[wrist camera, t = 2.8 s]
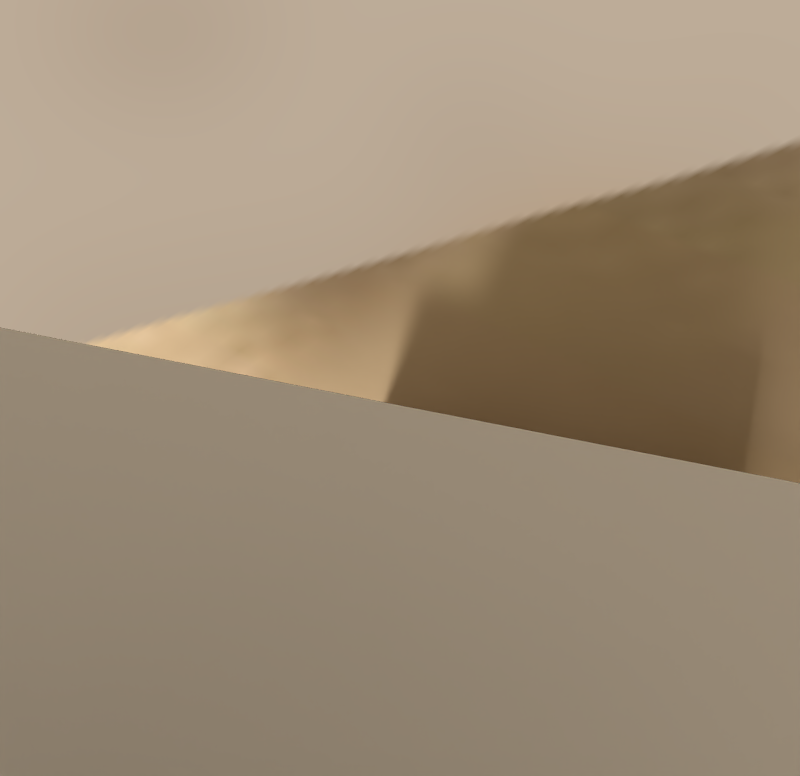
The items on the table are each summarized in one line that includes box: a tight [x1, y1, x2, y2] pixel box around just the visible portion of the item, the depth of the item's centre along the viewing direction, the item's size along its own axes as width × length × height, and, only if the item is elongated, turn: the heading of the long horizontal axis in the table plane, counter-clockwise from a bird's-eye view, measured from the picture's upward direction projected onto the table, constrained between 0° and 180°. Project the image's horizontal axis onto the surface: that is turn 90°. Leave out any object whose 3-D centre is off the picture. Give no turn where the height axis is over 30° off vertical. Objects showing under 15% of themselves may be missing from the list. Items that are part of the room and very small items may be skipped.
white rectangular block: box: [0, 328, 800, 776], centre depth 9 cm, size 2×6×13 cm, turn 75°
